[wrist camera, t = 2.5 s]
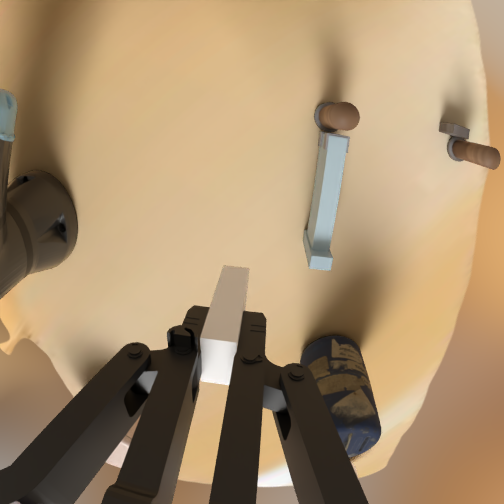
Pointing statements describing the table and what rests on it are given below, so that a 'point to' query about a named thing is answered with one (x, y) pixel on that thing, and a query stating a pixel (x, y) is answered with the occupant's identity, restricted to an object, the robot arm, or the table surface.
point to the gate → (325, 199)
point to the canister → (345, 391)
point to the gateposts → (458, 149)
